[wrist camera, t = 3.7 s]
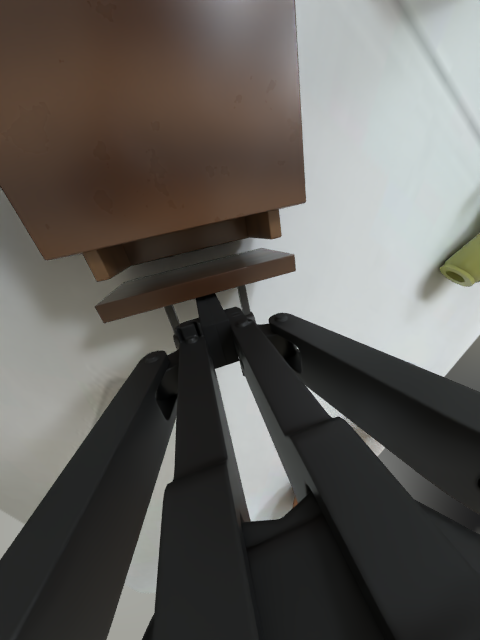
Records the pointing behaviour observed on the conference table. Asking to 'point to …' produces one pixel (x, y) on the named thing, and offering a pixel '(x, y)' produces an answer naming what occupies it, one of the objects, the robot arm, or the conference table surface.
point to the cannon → (464, 264)
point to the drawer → (189, 267)
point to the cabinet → (146, 116)
